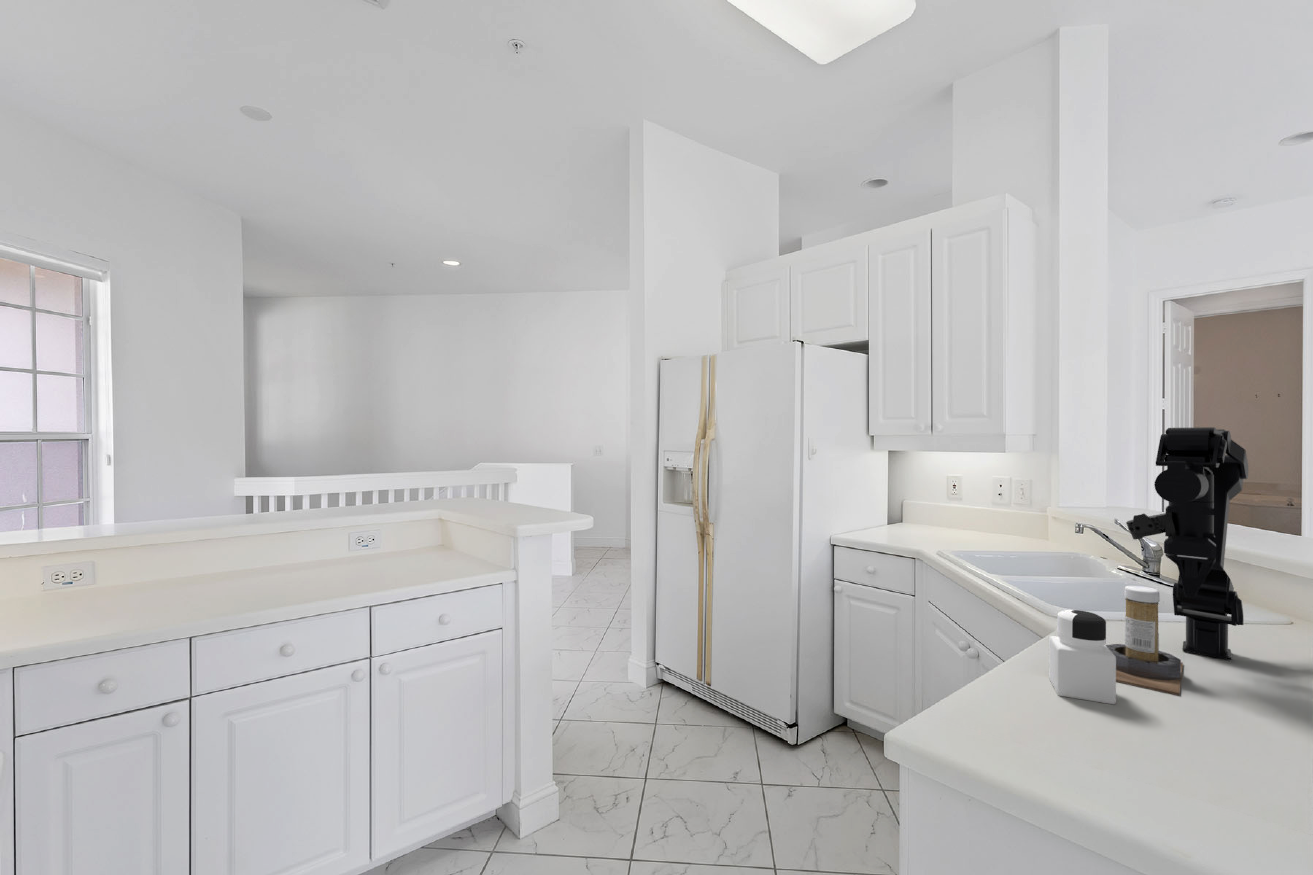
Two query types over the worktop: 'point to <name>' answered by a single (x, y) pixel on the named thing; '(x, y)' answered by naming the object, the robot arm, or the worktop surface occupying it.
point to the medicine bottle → (1082, 658)
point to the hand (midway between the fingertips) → (1190, 592)
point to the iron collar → (1147, 664)
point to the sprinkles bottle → (1141, 623)
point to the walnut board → (1151, 682)
